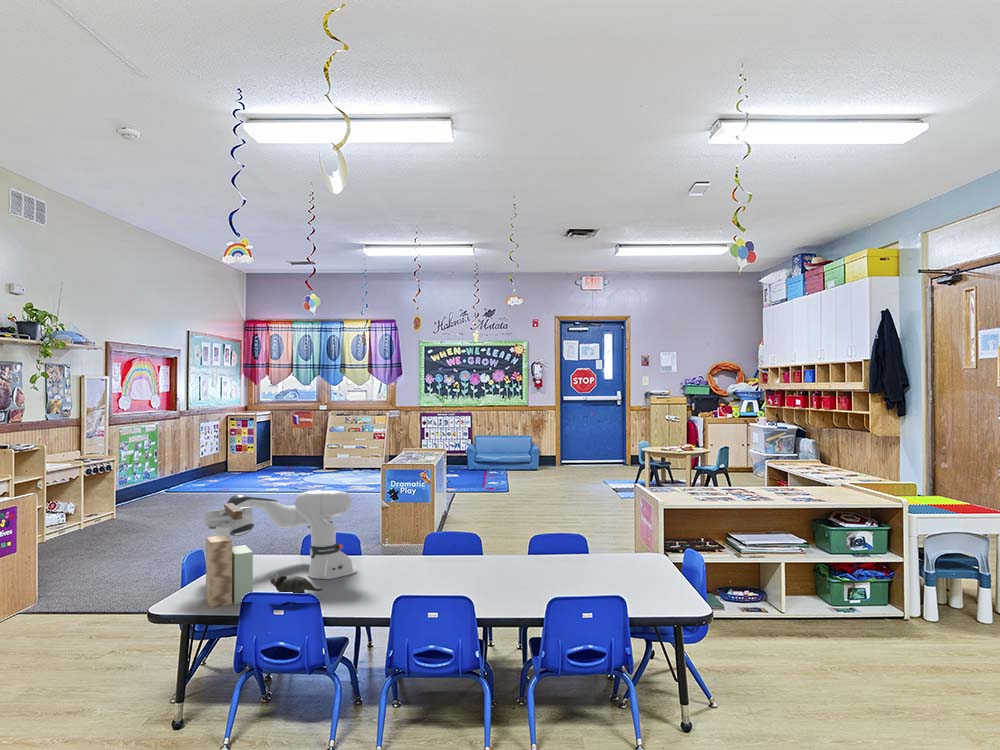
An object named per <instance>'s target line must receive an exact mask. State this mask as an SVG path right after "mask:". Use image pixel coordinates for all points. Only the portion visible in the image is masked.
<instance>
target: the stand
mask: <svg viewBox="0 0 1000 750" xmlns="http://www.w3.org/2000/svg"><path fill="white" fill-rule="evenodd" d="M232 547H233V540H232V538H231V537H230V535H229V536H228V535H221V536H214V535H213V536H207V537H205V602H206V604H207V606H208V608H209V609H211V610H212V609H216V608H220V607H227V606H232V605H234V603H233V602H232Z"/></svg>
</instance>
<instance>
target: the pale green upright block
mask: <svg viewBox="0 0 1000 750" xmlns="http://www.w3.org/2000/svg"><path fill="white" fill-rule="evenodd" d="M253 556H254V551H252V549H250V548H249V547H248V546H247V545H246V544H244V545H236V546H232V602H233V605H239V604H242V603H241V600H242V597H243V596H244V595H245V594H246V593H248V592H253V591H254V587H253V586H254V584H253V583H254V582H253V581H254V570H253V569H254V568H253V567H254V566H253V565H254V564H253V562H254V557H253Z"/></svg>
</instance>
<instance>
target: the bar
mask: <svg viewBox="0 0 1000 750" xmlns="http://www.w3.org/2000/svg"><path fill="white" fill-rule="evenodd" d="M223 508H227V512H226V514H227V515H228V516H229V517H231V518H232V519H233V520H239V519H242V510H241V509H239V508H238V507H237V506H235V505H234V504H233V503H223Z"/></svg>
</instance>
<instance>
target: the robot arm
mask: <svg viewBox="0 0 1000 750" xmlns="http://www.w3.org/2000/svg"><path fill="white" fill-rule="evenodd" d="M227 503H233V504H234V505H235V506H237V507H238V508H239V509H241V510H242V519H239V520H233V519H232V518H231V517H229V516H228V515H227V514H226V512H227V508H224V507H222V508H221V509H217V510H207V511H204V512H203V522H204V523H203V524H204V526H205V529H208V530H209V529H210V530H211V533H212V535H213V536H221V535H228V536H229V537H230V536H232V537H241V536H245V535H247V534H248V533H250V531H252V530H253V528H254V527H255V522H254V517H253V516H254V515H253V509H261V510H263V511H264V512H265V513H266V514H267V516H268V517H269V519H270V520H271V522H272V524H273V525H275V526H276V527H277V528H279V529H293V528H296V527H300V526H304V525H308V526H306V527H307V528H308V529H310V538H311V539H310V543H311V544H310V549H309V555H310V556H309V557H310V563H309V568H308V573H307V577H308V578H311V579H317V580H318V579H319V580H321V579H322V580H333V579H337V578H340V577H341V578H342V577H344V576H350V575H354V574H357V573H358V569H357V567H356V566H353V562H352V558H350V556H349V555H347V554H345V553H344V552H343V551H341V550H343V548H344V545H343V544H341V543H338V542H336V540H337V538H336V537H337V534H336V533H337V531H336V526H335V525H334V524H333V521H332V519H333V518H337V517H339V516H340V515H342V514H346V513H348V512H349V510H350V509H351V507H352V504H353V502H352V497H351V495H350V493H349V492H346V491H342V490H325V489H315V490H308V491H303V492H299V494H298V495H297V496H296V498H295V501H294V505H293V504H292V505H286V504H283V503H281V502H279V501H278V500H277V499H272V498H264V497H263V498H262V497H255V496H248V495H244V494H235V495H233V496H231V497H230V498H229V499H228V501H227ZM227 503H226V504H227Z"/></svg>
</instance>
